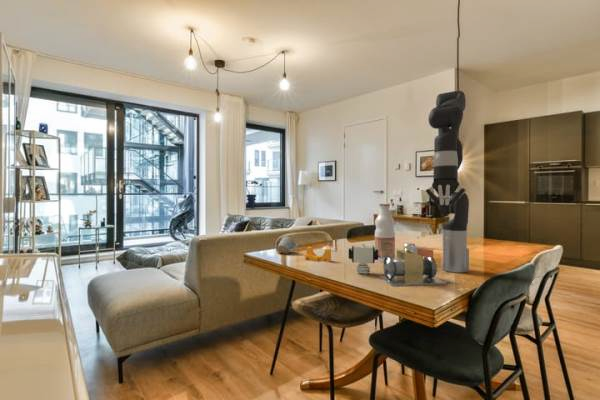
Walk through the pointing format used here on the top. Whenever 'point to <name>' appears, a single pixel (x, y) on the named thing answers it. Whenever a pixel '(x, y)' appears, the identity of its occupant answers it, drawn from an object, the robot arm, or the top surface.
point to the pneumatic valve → (363, 257)
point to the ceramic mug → (286, 245)
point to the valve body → (410, 270)
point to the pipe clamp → (314, 257)
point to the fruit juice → (384, 234)
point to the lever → (418, 250)
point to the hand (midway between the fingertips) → (445, 216)
